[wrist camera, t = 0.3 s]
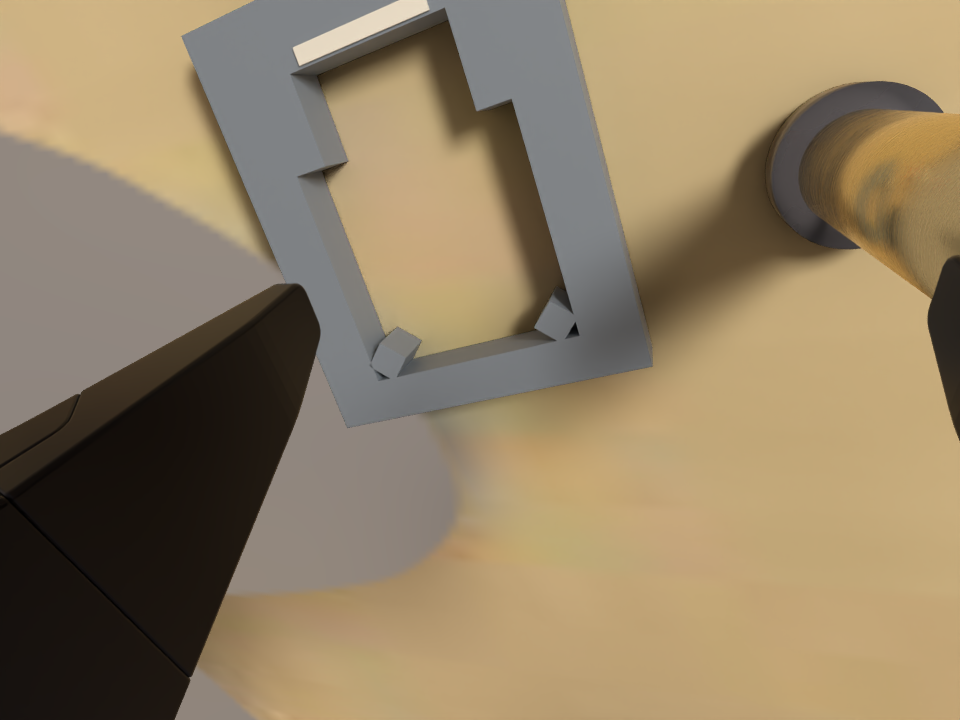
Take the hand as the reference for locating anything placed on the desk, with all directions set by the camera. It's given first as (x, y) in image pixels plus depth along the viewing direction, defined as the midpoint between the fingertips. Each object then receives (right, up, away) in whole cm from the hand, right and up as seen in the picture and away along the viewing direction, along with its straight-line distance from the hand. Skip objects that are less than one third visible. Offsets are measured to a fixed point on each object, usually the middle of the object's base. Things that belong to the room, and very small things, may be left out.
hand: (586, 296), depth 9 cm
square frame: (-3, +6, +16) cm, 17 cm away
